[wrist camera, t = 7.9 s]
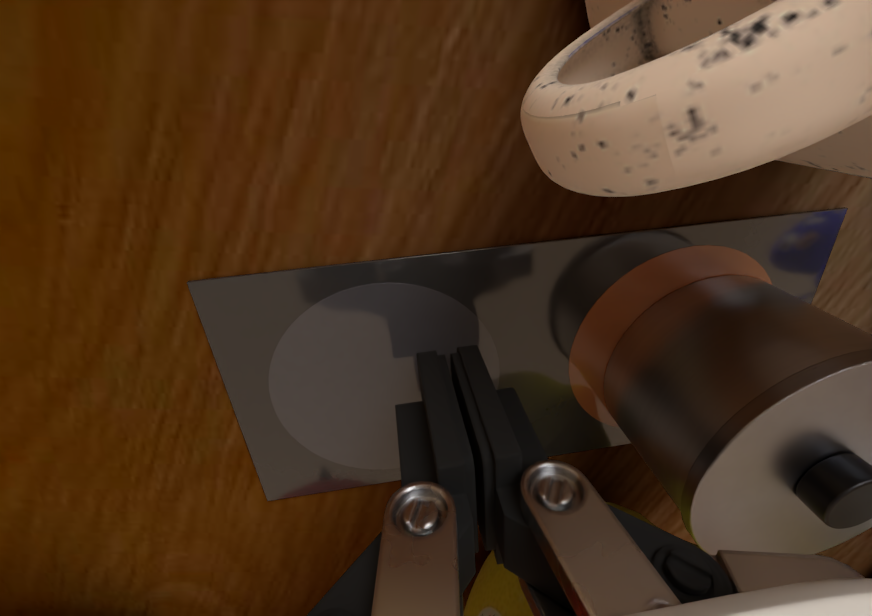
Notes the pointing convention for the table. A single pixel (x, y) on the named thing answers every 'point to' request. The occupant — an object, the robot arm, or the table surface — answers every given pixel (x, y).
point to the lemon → (507, 586)
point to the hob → (464, 335)
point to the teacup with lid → (703, 93)
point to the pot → (750, 415)
